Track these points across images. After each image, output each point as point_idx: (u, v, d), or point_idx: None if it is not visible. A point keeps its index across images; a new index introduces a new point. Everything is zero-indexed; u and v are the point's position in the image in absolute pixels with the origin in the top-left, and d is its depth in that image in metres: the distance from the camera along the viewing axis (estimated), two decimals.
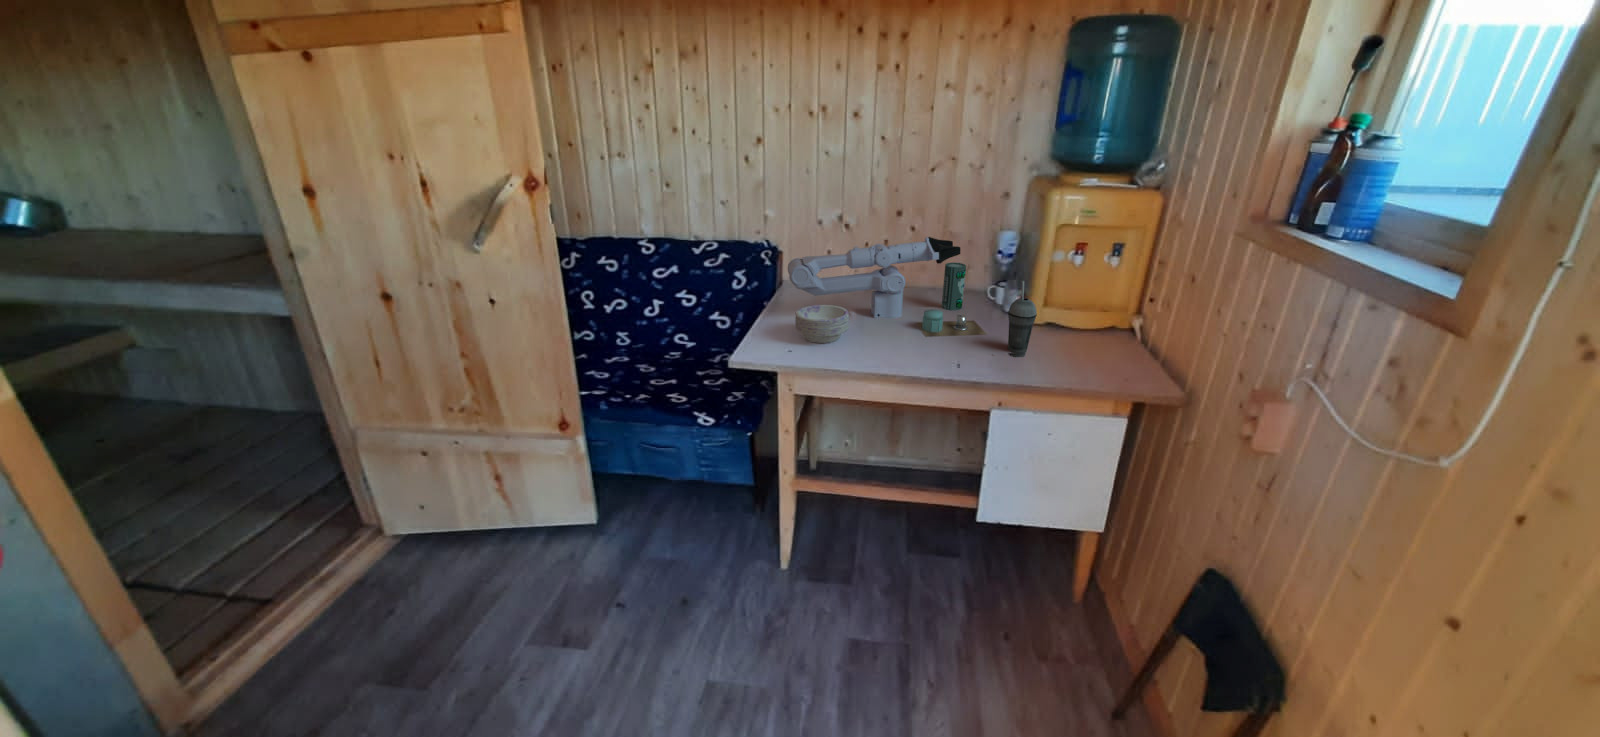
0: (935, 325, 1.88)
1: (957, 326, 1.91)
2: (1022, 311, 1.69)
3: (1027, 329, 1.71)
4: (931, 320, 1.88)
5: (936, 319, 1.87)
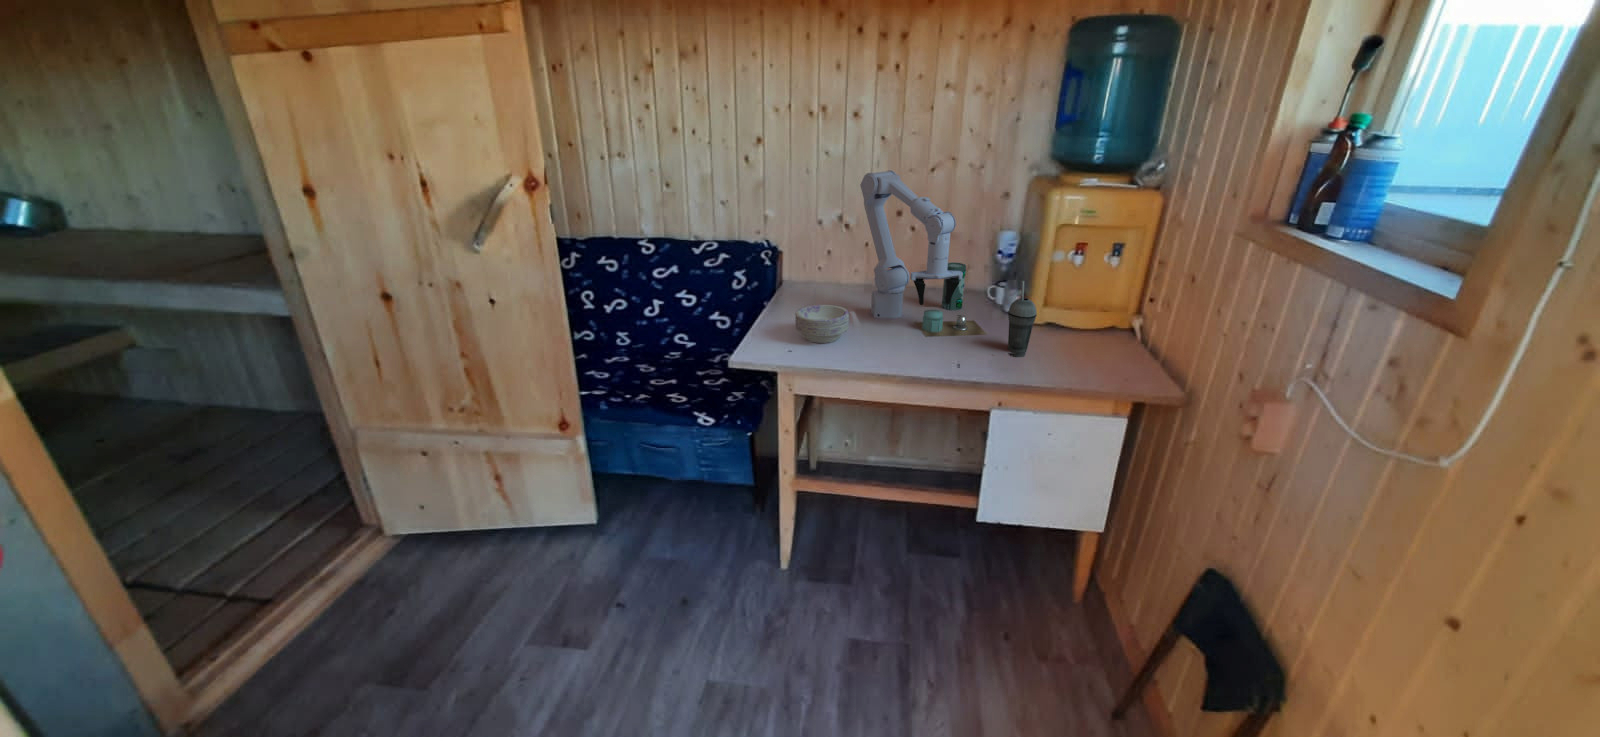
0: (935, 325, 1.88)
1: (957, 326, 1.91)
2: (1022, 311, 1.69)
3: (1027, 329, 1.71)
4: (931, 320, 1.88)
5: (936, 319, 1.87)
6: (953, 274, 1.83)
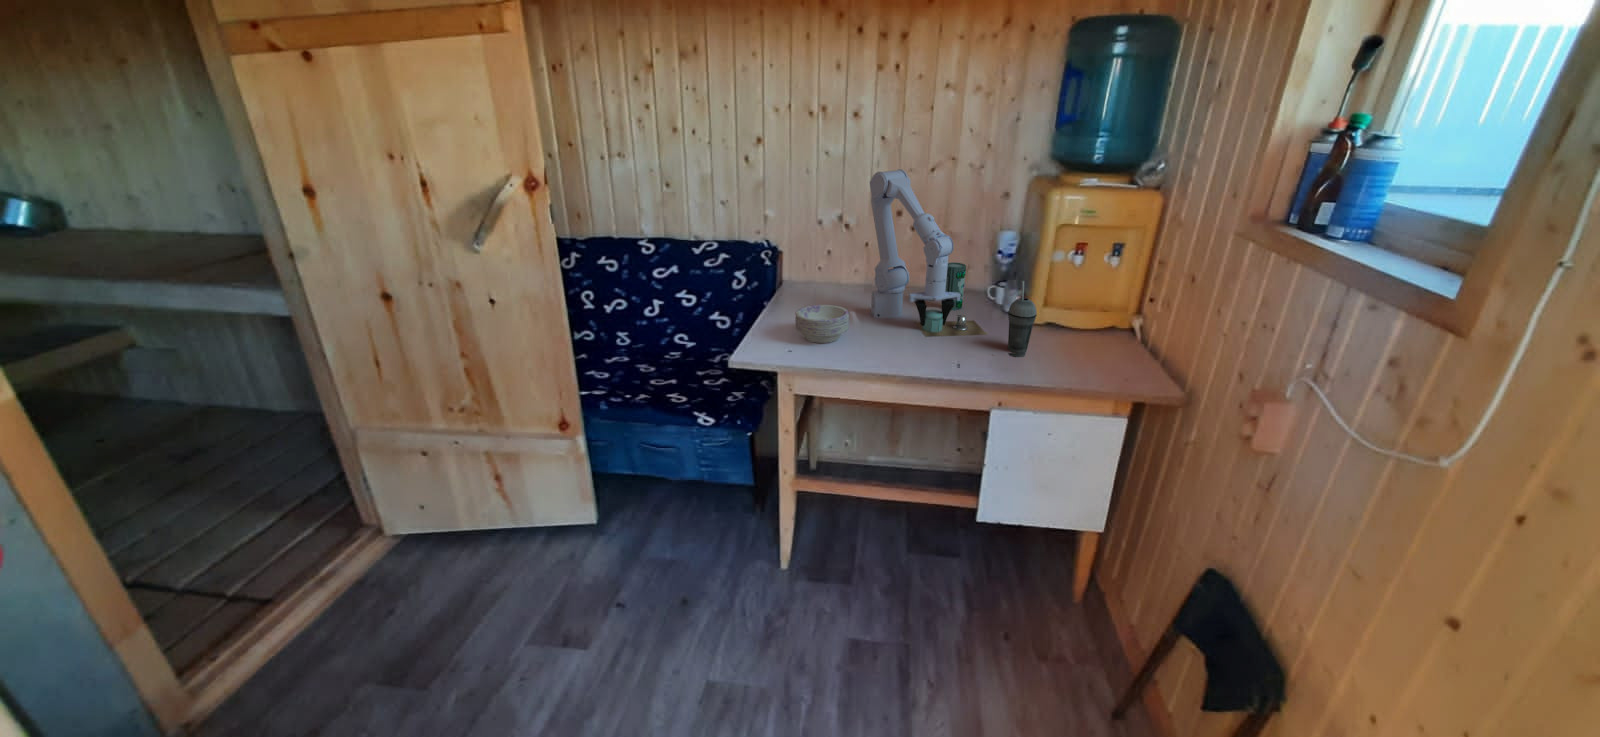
0: (935, 325, 1.88)
1: (957, 326, 1.91)
2: (1022, 311, 1.69)
3: (1027, 329, 1.71)
4: (931, 320, 1.88)
5: (936, 319, 1.87)
6: (951, 296, 1.86)
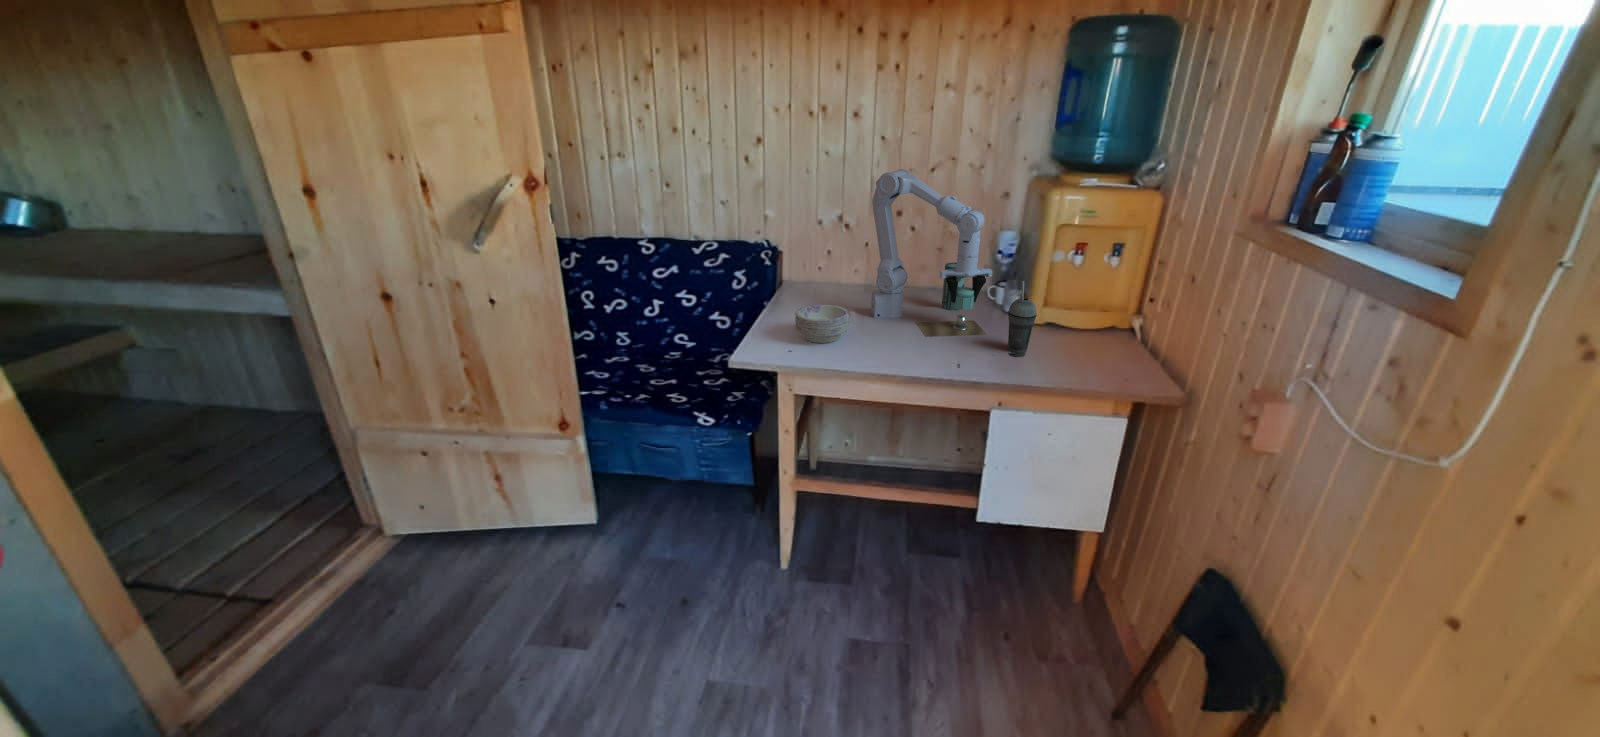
0: (966, 303, 1.86)
1: (957, 326, 1.91)
2: (1022, 311, 1.69)
3: (1027, 329, 1.71)
4: (962, 297, 1.85)
5: (967, 296, 1.85)
6: (983, 272, 1.84)
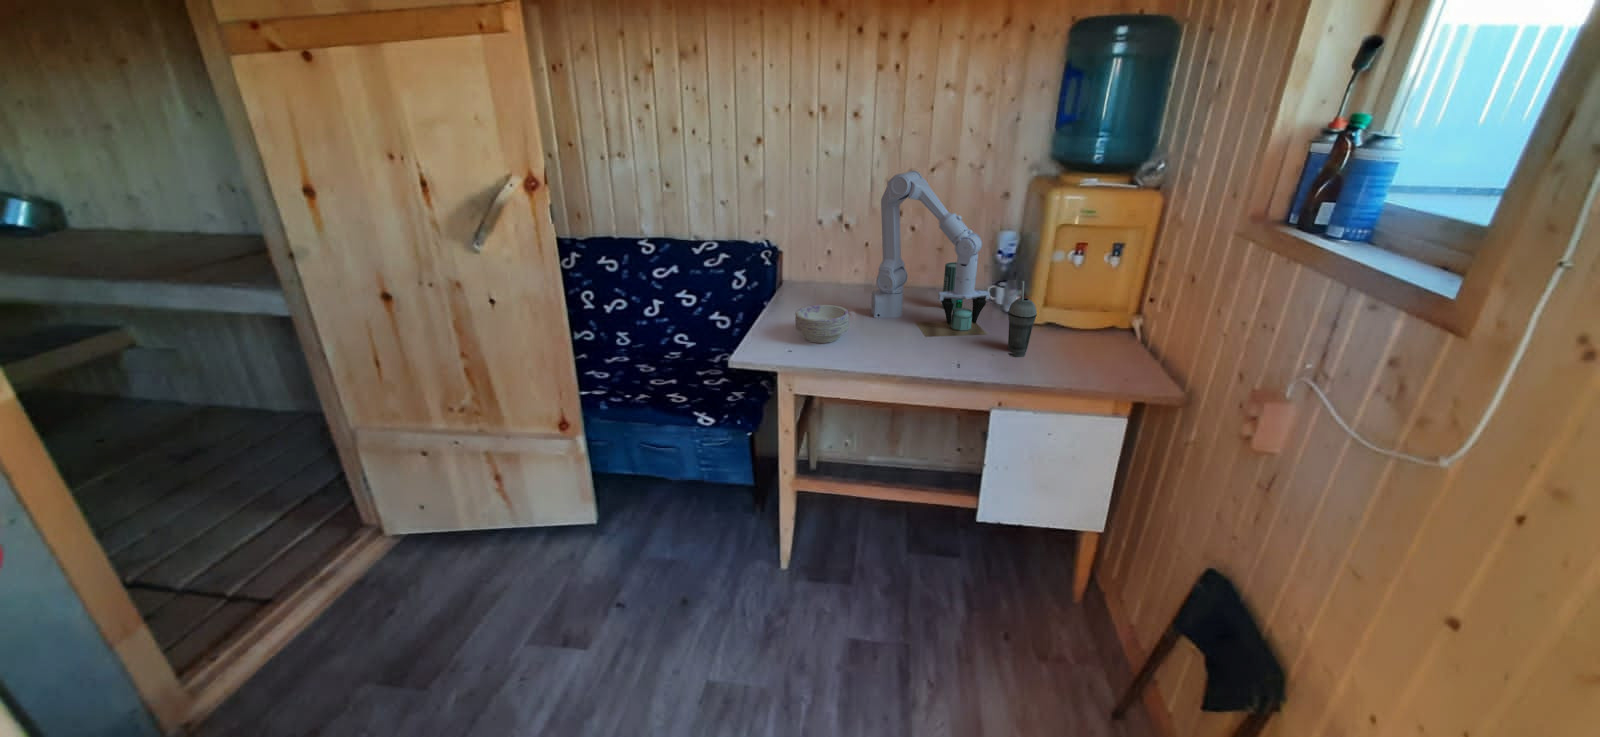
0: (964, 324, 1.88)
1: None
2: (1022, 311, 1.69)
3: (1027, 329, 1.71)
4: (960, 318, 1.88)
5: (965, 317, 1.88)
6: (980, 294, 1.86)
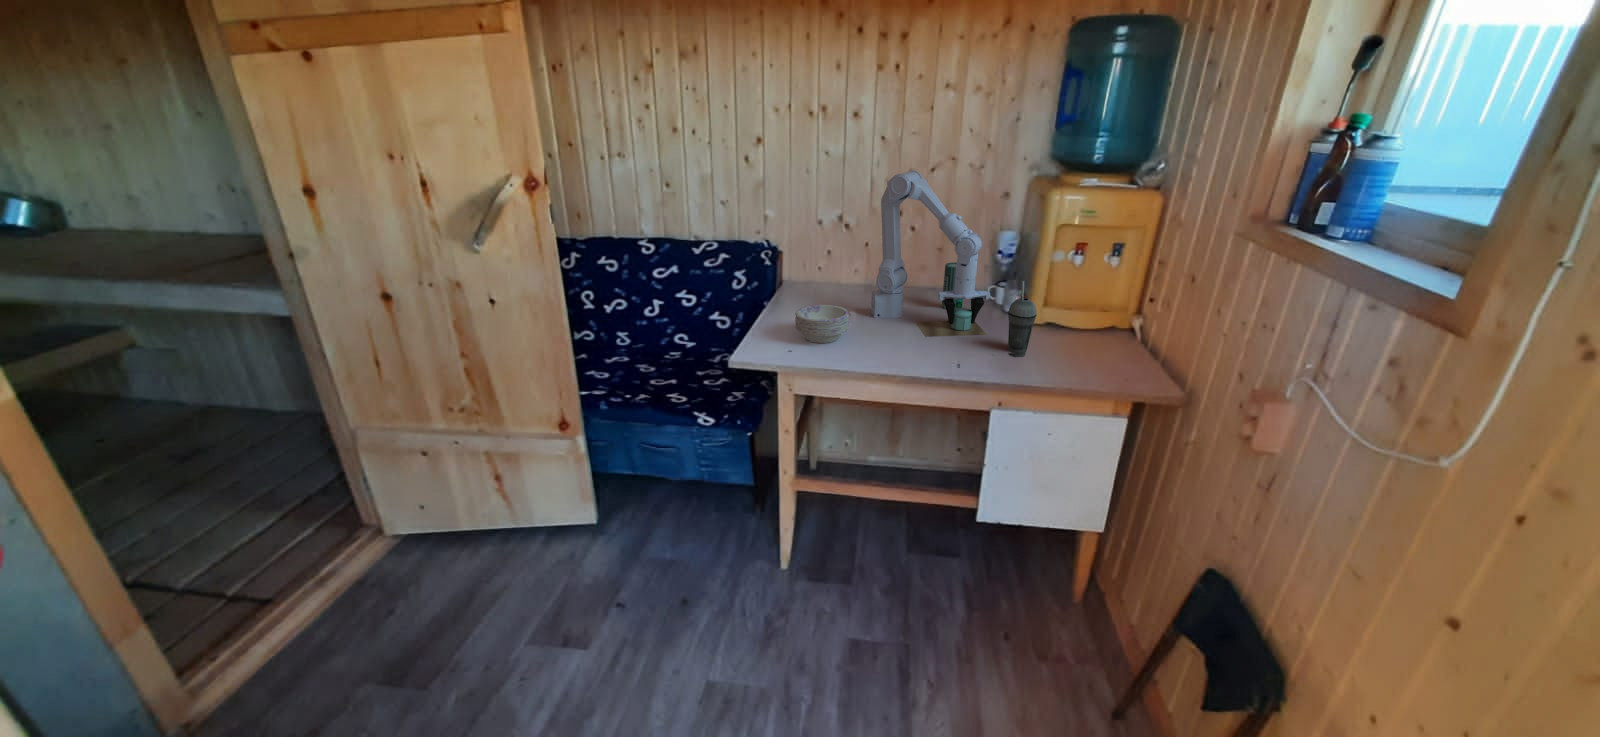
0: (953, 322, 1.90)
1: None
2: (1022, 311, 1.69)
3: (1027, 329, 1.71)
4: None
5: (955, 316, 1.89)
6: (980, 294, 1.86)
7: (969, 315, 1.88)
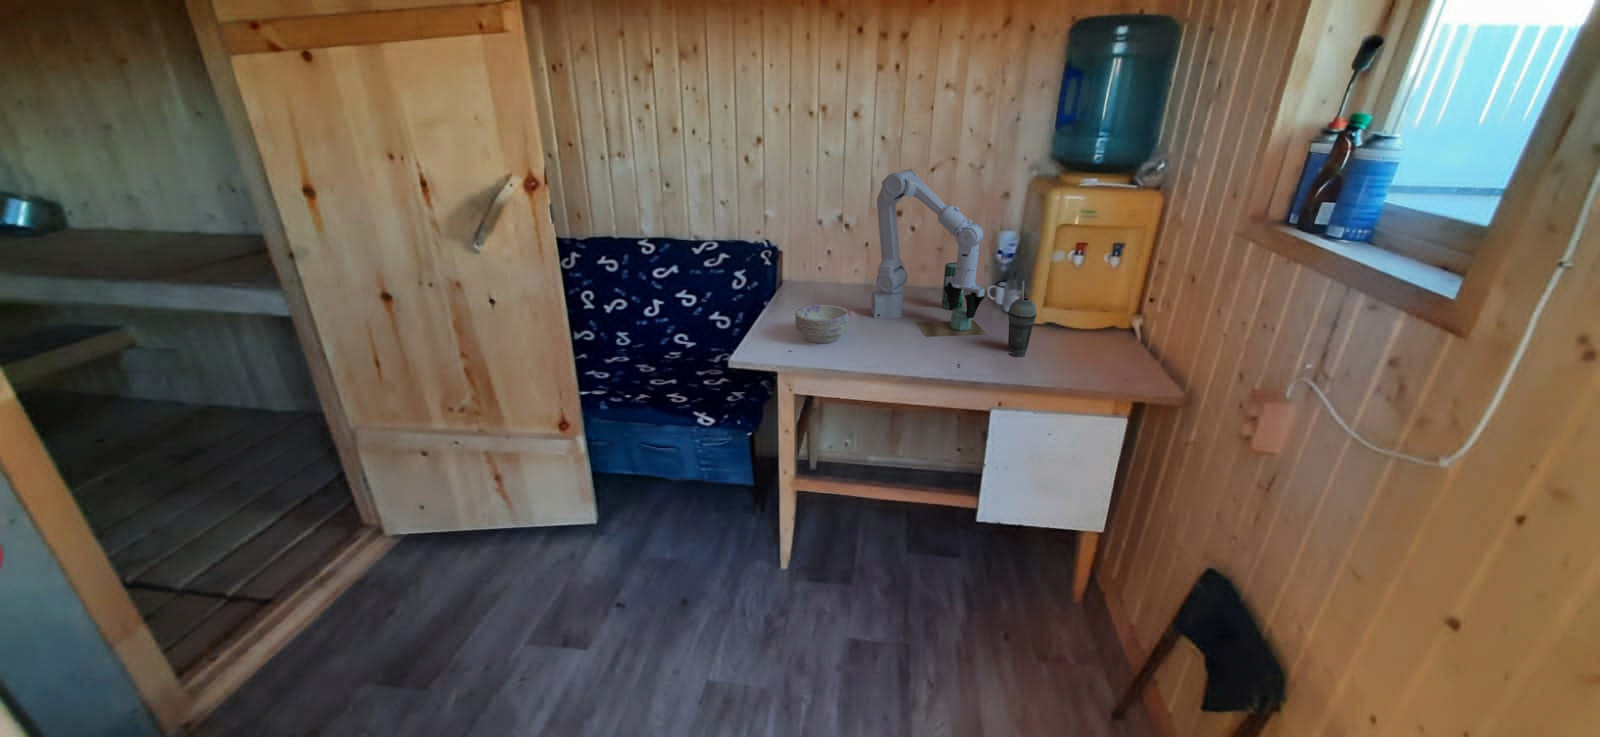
0: None
1: None
2: (1022, 311, 1.69)
3: (1027, 329, 1.71)
4: None
5: None
6: (970, 288, 1.82)
7: (959, 315, 1.88)
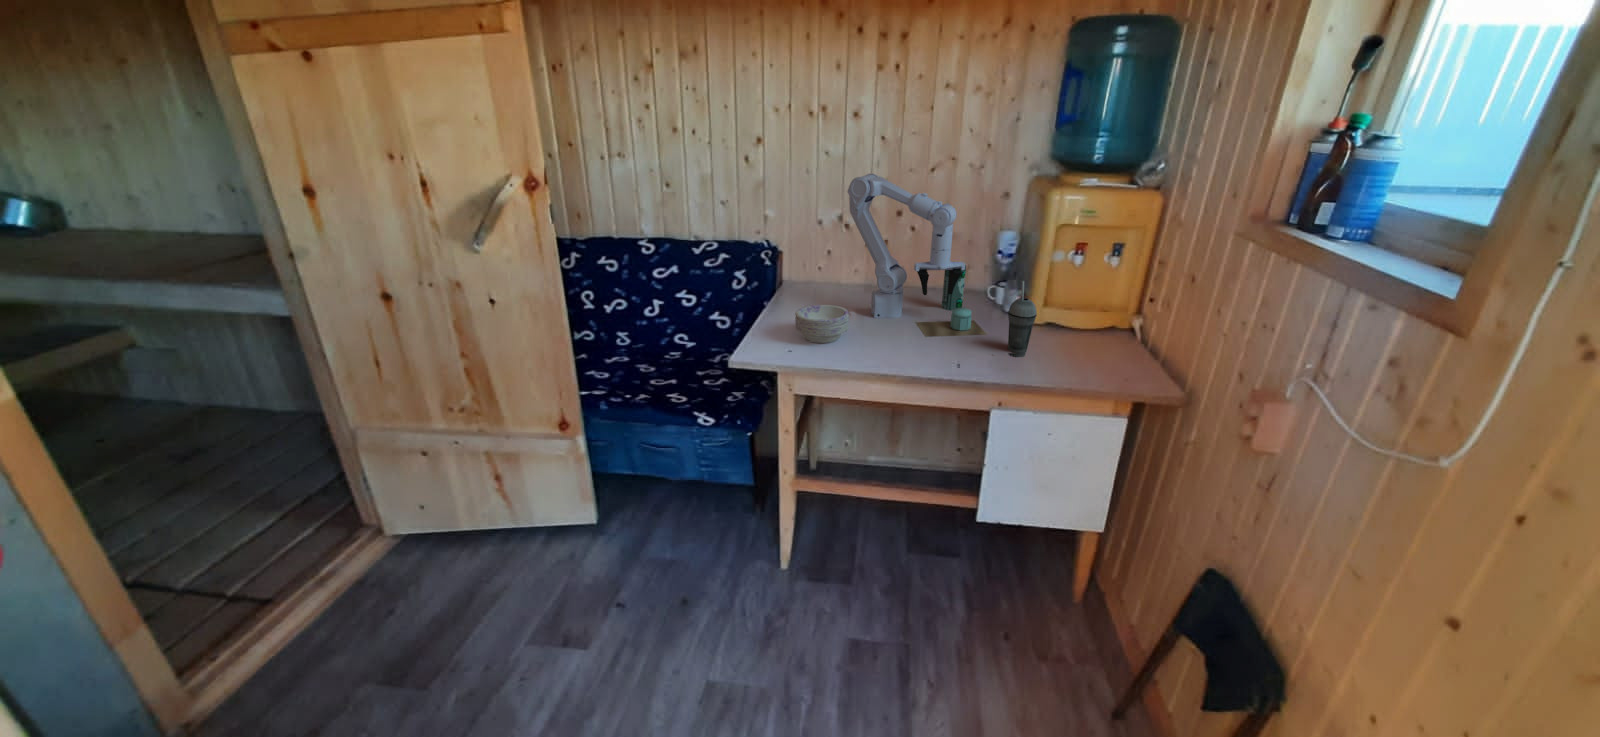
0: None
1: None
2: (1022, 311, 1.69)
3: (1027, 329, 1.71)
4: None
5: None
6: (956, 265, 1.89)
7: (959, 315, 1.88)
